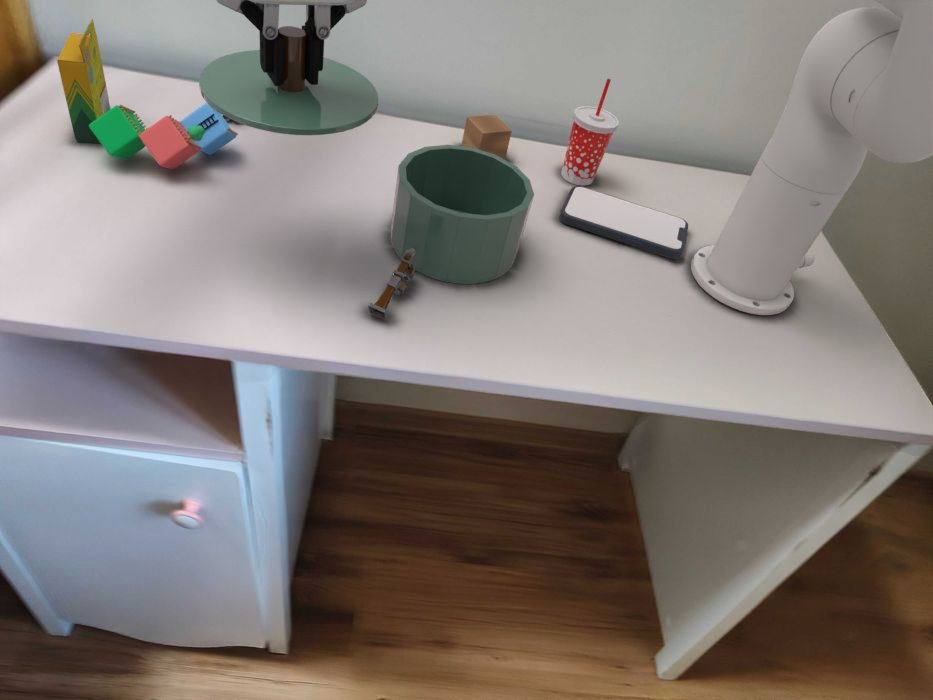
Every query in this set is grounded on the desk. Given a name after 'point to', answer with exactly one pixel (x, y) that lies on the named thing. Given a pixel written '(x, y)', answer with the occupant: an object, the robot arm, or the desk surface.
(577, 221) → the smartphone
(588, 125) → the beverage cup
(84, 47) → the crayon box
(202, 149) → the building blocks
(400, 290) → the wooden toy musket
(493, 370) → the desk surface
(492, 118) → the oak block
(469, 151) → the tin
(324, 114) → the lid
